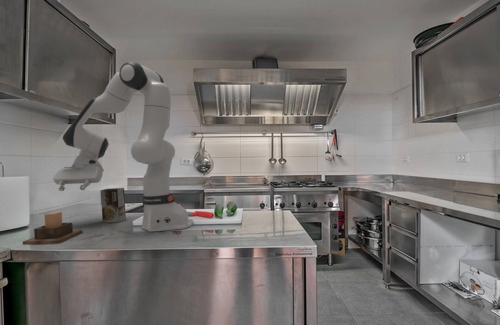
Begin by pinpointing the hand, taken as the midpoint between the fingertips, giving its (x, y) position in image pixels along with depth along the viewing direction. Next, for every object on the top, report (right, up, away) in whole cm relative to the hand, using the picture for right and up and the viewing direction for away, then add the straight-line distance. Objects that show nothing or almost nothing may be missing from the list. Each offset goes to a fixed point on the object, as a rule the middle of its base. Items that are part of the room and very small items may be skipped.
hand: (71, 189), depth 123 cm
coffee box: (+11, -17, +17) cm, 26 cm away
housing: (0, -18, -11) cm, 22 cm away
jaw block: (+1, -17, -11) cm, 21 cm away
